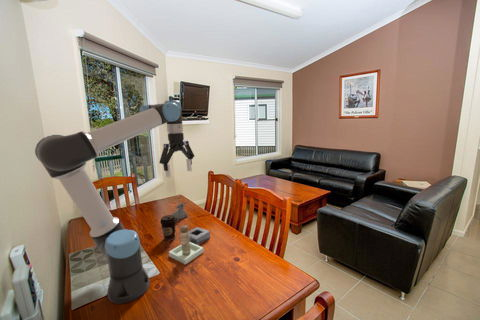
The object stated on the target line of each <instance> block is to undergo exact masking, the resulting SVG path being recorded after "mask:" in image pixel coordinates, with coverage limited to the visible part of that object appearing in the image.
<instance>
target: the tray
mask: <svg viewBox="0 0 480 320" xmlns="http://www.w3.org/2000/svg"><path fill="white" fill-rule="evenodd" d="M204 249H205V248H204V247H203V246H200V245H196V244H194V243H191V242H190V251H191V253H190V254H189V255H183V254H182V244H180V245H178V246H177V247H174V248H172V249H171V250H169V251H168V256H169V257H170V258H171V259H174V260H175V261H178V262H180V263H182V264H183V265H185V266H186V265H187V264H188V263H190V262H191V261H193V260H194V259H196V258H197V257H199V256H201V255H202V254H203V253H205V252H204Z"/></svg>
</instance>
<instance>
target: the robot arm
mask: <svg viewBox="0 0 480 320" xmlns="http://www.w3.org/2000/svg"><path fill="white" fill-rule="evenodd" d="M182 111H183V110H182V104H181V101H180V100H174V99H173V100H165V101H164V103H156V104H142V105H140V107H139V112H138V113H136V114H133V115H129V116H127V117H125V118H123V119H119V120H117V121H115V122H112V123H109V124H106V125H103V126H100V127H98V128H96V129H94V130H90V131H87V132H86V131H83V130H82V131H79V132H76V133H74V134H68V135H62V134H61V135H60V134H52V135H47V136H46V137H45V136H44V137H43V138H42V139H40V140H39V141H38V142H37V144H36V146H35V150H34V153H35V154H34V155H35V157H36V158H37V159H38V161H39V162H40V163H41V164H42V165H43V167H44V169H45V170H46V172H47V173H48V174H49V176H50V177H51V178H52V179H55V180H59V182H60V183H61V185H62V187H63V188H64V190H65V192H66V193H67V194H68V196H69V197H70V199H71V200H72V202H73V203H74V205H75V206H76V208H77V210H78V211H79V212H80V214H81V216H82V217H83V218H84V220H85V221H86V223H87V224H88V226H89V228H90V231H89V236H90V237H91V239H92V240H93V243H94V244H95V246H96V248H97V249H98V250H99V252H101V254H102V256H103V257H104V258H105V259H106V261H107V264H108V271H109V277H110V279H109V281H108V287H107V298H108V300H109V301H110V302H111V303H112V304H116V305H121V304H127V303H132V302H134V301H135V300H137V299H139V298H141V296H143V295H144V294H145V293H146V292H147V291H148V289H149V287H150V278H149V275H148V274H147V272H146V270H145V268H144V267H143V260H142V259H143V258H142V252H141V241H140V237H139V234H138V233H137V232H136V231H135V230H133V229H126V228H125V226H123V224H122V222H121V221H120V219H119V217H117V216H113V215H112V213H111V212H110V210H109V208H108V206H107V204H106V203H105V202H104V200H103V198H102V197H101V195H100V193H99V192H98V191H99V190H98V189H97V188H96V186H95V185H94V183H93V181H92V179H91V178H90V175H89V174H88V172H87V171H86V170H85V168H86V166H87V162H89V161H91V160H93V159H95V158H97V157H99V154H100V153H101V152H104V151H106V150H108V149H110V148H113V147H115V146H118V145H119V144H121V143H124V142H126V141H128V140H131V139H132V138H135V137H137V136H139V135H142V134H144V133H146V132H148V131H151V130H153V129H155V128H158V127H159V126H162V125H164V124H166V132H167V139H168V142H169V143H163V149H162V153H161V155H160V158H159V161H158V162H159V164H161V165H163V170H164V172H165V177H166V178H171V177H172V176H171V166H170V164H169V162H170V160H171V159H172V157H173V155H174V153H176V152H181V153H182V154H183V155H184V156H185V157H186V169H187V172H192V164H193V162H192V160H193V159H194V158H195V154H194V152H193V150H192V148H191V146H190V141H188V140H184V138H185V137H184V133H183V131H184V128H183V127H184V126H183V125H184V124H183V113H182Z"/></svg>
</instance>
